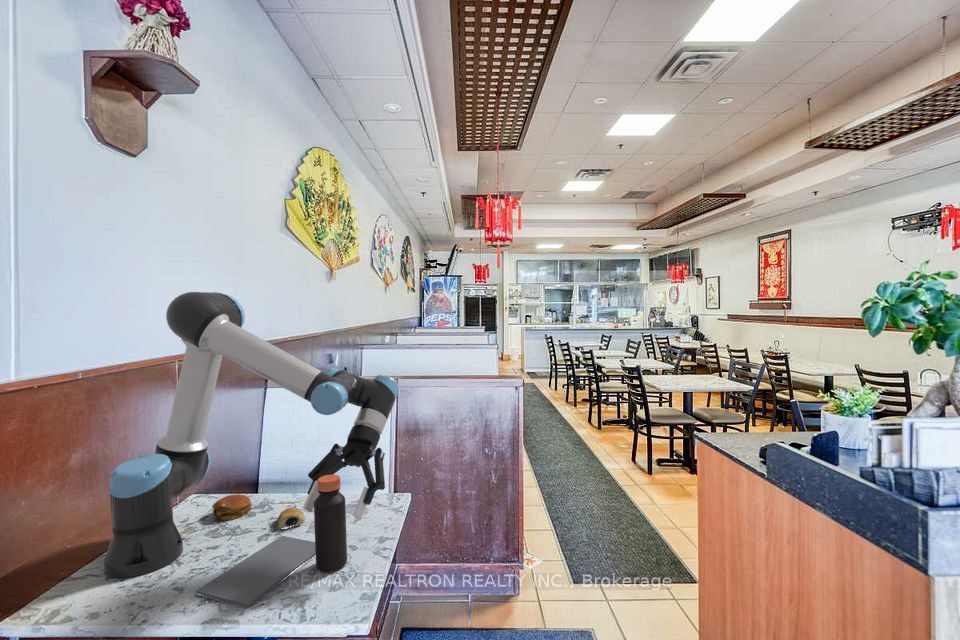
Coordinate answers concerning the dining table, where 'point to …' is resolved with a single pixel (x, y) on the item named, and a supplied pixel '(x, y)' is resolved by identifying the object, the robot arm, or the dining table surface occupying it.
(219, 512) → the burger
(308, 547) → the mat
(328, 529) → the vinegar
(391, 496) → the dining table surface
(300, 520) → the pastry
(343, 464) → the robot arm
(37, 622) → the dining table surface
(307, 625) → the dining table surface
